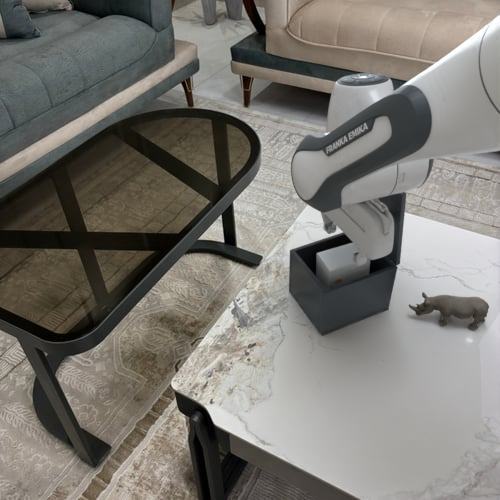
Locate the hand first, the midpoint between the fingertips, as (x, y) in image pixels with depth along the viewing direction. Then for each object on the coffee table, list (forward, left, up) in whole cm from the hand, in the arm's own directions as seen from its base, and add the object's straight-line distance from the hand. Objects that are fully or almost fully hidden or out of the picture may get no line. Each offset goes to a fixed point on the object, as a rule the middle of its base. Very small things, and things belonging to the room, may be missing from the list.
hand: (343, 246), depth 86 cm
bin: (0, 0, -14) cm, 14 cm away
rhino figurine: (-17, -10, -14) cm, 24 cm away
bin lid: (-2, -6, +5) cm, 8 cm away
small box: (-1, 0, -13) cm, 13 cm away
